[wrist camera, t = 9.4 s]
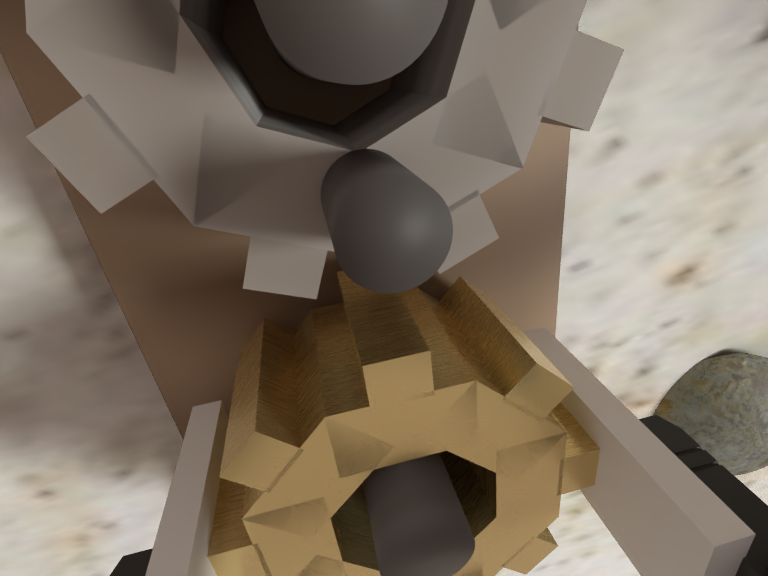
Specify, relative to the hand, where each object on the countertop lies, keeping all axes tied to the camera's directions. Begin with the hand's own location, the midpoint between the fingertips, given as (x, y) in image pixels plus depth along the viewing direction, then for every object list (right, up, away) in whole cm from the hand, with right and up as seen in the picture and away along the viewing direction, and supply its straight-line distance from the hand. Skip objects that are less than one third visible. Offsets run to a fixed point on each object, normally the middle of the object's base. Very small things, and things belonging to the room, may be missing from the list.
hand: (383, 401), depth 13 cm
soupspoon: (+22, -3, +10) cm, 25 cm away
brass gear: (0, 0, 0) cm, 0 cm away
